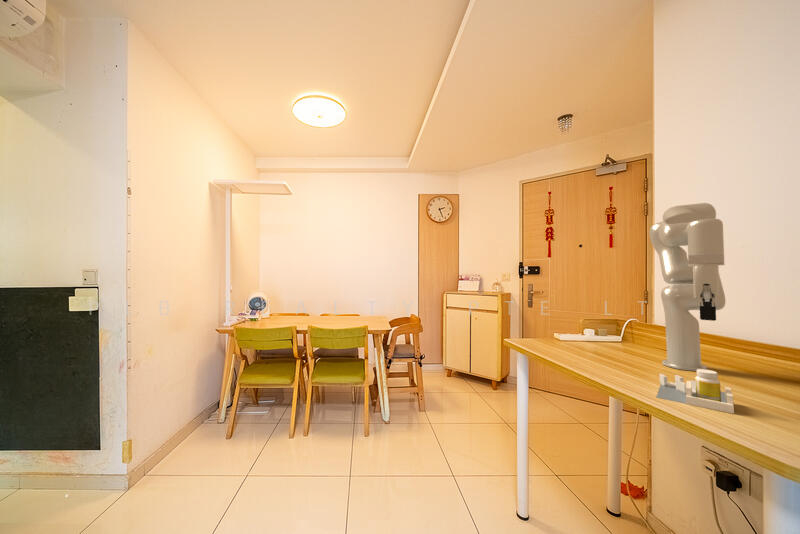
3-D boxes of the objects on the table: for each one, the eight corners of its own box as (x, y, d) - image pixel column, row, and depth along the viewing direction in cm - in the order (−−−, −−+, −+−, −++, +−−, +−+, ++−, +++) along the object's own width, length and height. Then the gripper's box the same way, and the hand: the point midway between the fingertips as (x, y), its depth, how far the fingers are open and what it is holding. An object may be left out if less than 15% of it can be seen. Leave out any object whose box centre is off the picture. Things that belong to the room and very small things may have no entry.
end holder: (687, 394, 86) (686, 380, 86) (731, 402, 80) (730, 387, 80) (686, 403, 80) (685, 388, 80) (734, 413, 73) (733, 397, 74)
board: (661, 383, 97) (661, 381, 97) (727, 395, 87) (727, 392, 87) (656, 399, 84) (656, 397, 84) (732, 415, 74) (732, 413, 74)
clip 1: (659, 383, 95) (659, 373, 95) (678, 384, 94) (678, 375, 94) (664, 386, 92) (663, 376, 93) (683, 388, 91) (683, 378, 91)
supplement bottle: (726, 406, 77) (724, 374, 78) (705, 405, 78) (703, 373, 79) (711, 399, 82) (709, 368, 82) (691, 398, 83) (690, 368, 83)
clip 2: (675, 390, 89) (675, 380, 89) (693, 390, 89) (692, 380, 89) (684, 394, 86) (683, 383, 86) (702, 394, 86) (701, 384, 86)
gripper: (689, 260, 97) (691, 312, 97) (687, 261, 85) (689, 320, 85) (723, 259, 92) (725, 314, 92) (725, 260, 80) (728, 323, 80)
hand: (707, 317), depth 88 cm, fingers open, 9 cm apart
